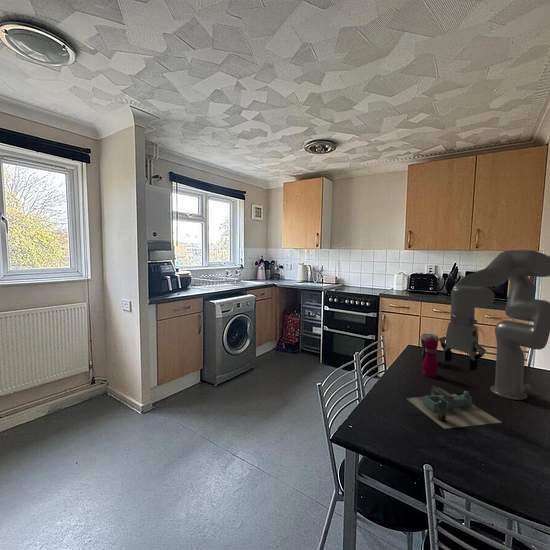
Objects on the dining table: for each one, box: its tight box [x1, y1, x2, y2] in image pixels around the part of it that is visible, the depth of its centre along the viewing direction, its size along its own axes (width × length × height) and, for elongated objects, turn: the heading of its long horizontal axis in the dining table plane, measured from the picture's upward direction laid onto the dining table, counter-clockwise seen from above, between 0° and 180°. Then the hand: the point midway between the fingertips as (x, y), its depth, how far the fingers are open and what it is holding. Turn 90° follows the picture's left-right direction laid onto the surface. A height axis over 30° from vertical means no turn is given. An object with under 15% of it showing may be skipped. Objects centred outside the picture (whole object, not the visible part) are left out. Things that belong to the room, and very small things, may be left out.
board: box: [406, 384, 503, 430], centre depth 116 cm, size 23×22×7 cm
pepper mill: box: [421, 336, 439, 378], centre depth 152 cm, size 7×7×20 cm
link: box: [422, 390, 473, 412], centre depth 118 cm, size 18×6×5 cm, turn 99°
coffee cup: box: [419, 333, 440, 362], centre depth 171 cm, size 10×10×15 cm
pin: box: [438, 399, 447, 422], centre depth 109 cm, size 3×3×7 cm
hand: (459, 365), depth 115 cm, fingers open, 9 cm apart
